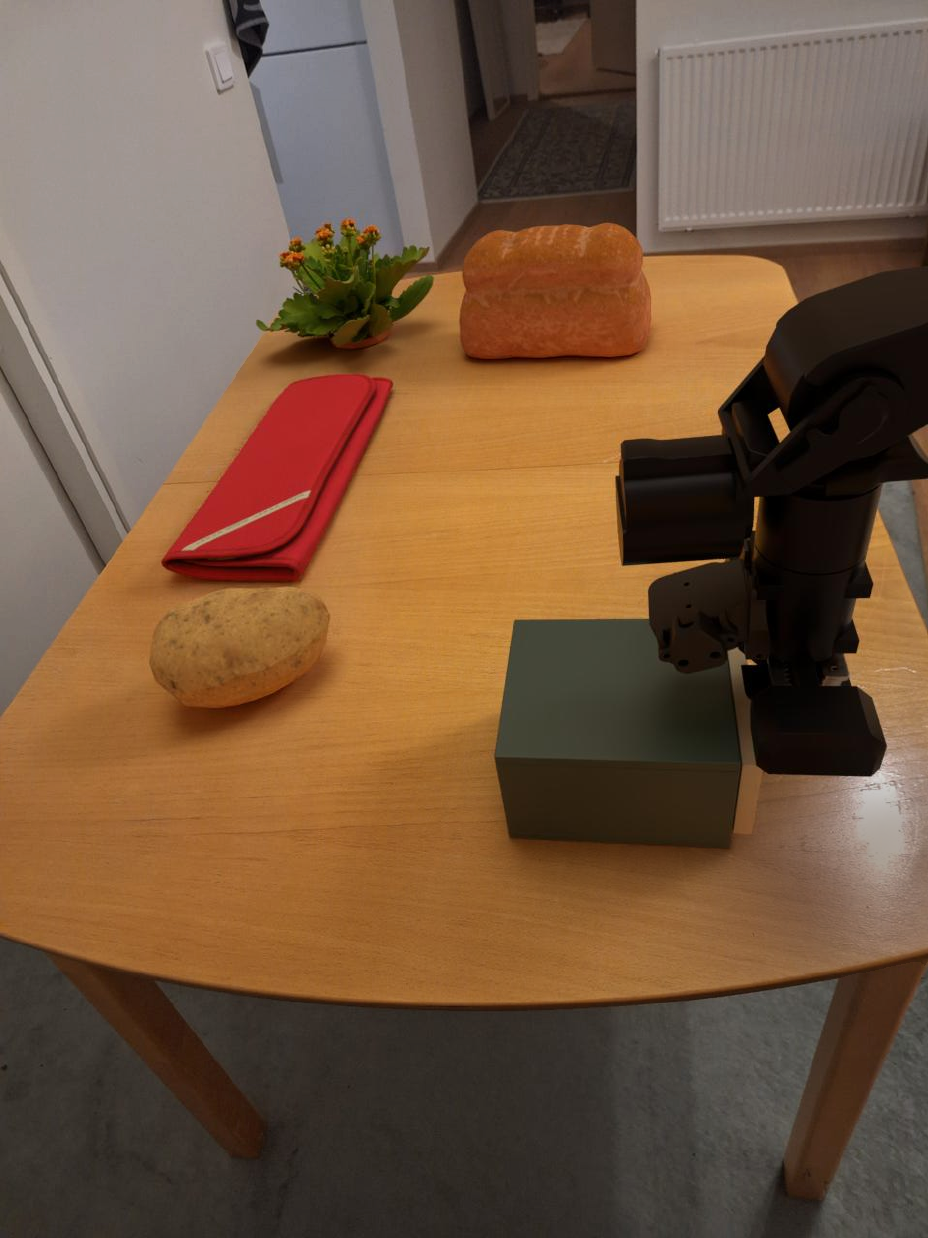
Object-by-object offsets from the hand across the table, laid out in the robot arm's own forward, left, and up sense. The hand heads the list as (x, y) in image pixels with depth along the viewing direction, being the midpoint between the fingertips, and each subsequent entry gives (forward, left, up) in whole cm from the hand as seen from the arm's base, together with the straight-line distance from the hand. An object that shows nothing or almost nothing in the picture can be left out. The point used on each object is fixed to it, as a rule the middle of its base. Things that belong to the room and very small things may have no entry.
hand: (777, 729), depth 54 cm
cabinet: (+11, 0, -5) cm, 12 cm away
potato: (+42, -8, -5) cm, 43 cm away
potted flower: (+50, -82, -5) cm, 96 cm away
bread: (+20, -74, -5) cm, 77 cm away
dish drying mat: (+49, -42, -5) cm, 65 cm away
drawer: (+7, 0, -4) cm, 8 cm away
